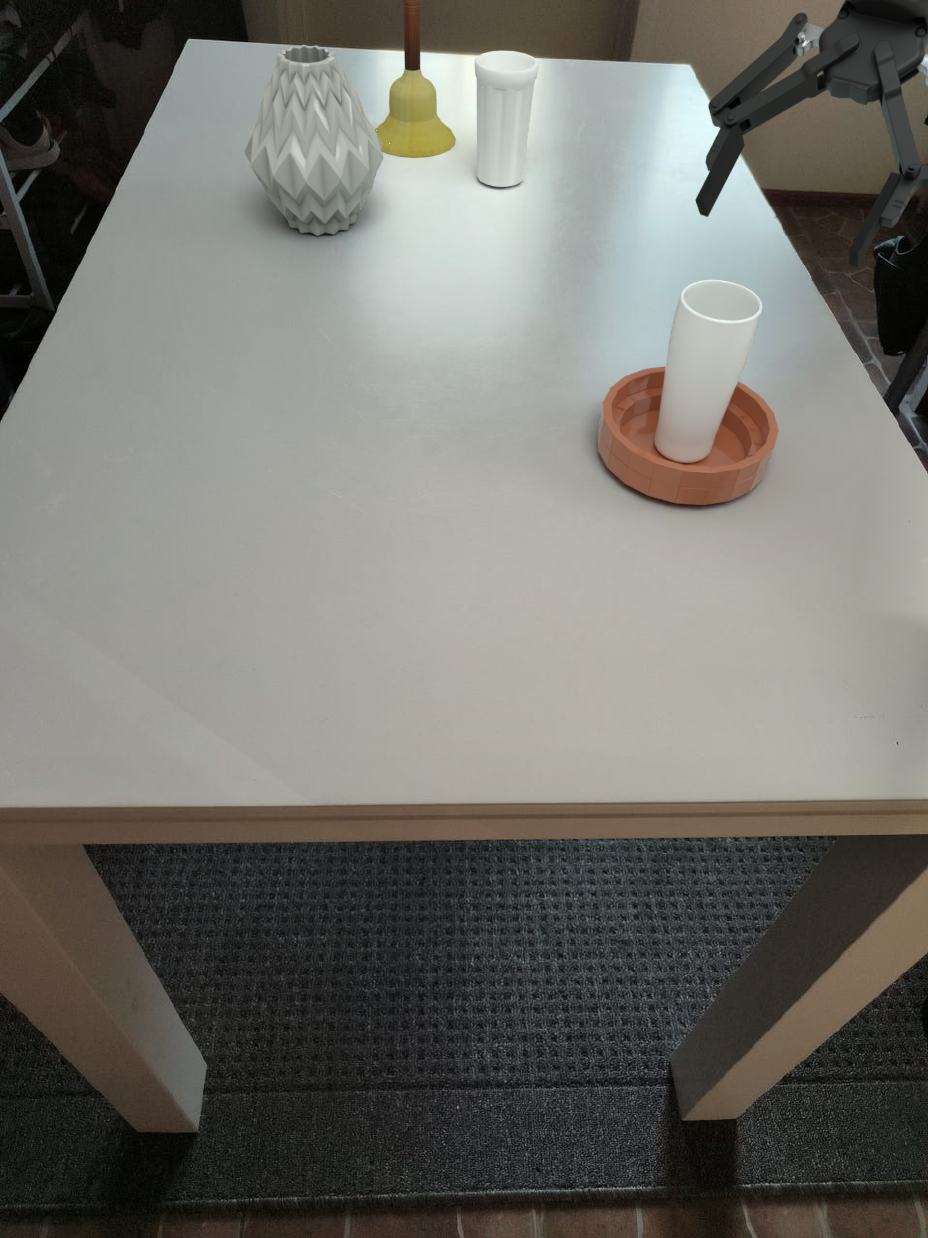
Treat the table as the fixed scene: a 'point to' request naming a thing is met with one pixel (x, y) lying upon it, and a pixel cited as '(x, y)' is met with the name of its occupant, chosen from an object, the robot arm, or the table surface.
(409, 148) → the handbell
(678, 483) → the bowl
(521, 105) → the cup
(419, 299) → the table surface
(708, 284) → the drinking glass
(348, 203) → the vase
